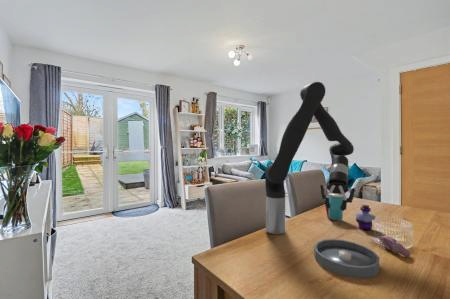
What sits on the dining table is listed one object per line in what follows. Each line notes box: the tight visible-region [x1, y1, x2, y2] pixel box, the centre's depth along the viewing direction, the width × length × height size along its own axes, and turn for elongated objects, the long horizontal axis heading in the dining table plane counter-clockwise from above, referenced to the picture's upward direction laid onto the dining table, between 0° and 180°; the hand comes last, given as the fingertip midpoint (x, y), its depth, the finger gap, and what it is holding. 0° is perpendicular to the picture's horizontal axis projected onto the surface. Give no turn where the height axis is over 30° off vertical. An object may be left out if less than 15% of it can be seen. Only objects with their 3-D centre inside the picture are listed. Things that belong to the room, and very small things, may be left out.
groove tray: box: [313, 238, 380, 279], centre depth 82 cm, size 21×21×4 cm
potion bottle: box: [355, 204, 376, 232], centre depth 112 cm, size 9×9×12 cm
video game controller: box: [379, 234, 411, 258], centre depth 89 cm, size 10×5×7 cm, turn 6°
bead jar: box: [329, 193, 344, 221], centre depth 93 cm, size 5×5×10 cm
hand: (335, 208), depth 91 cm, fingers closed on bead jar, 5 cm apart
